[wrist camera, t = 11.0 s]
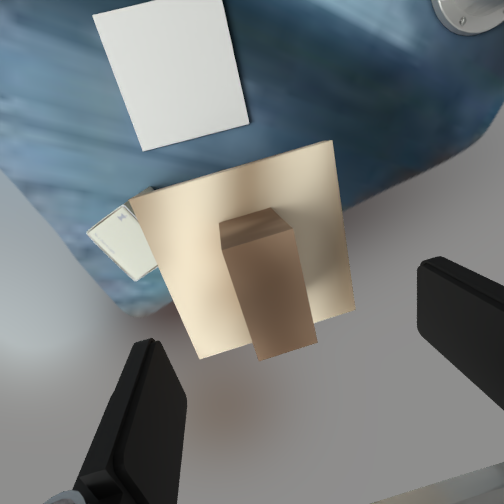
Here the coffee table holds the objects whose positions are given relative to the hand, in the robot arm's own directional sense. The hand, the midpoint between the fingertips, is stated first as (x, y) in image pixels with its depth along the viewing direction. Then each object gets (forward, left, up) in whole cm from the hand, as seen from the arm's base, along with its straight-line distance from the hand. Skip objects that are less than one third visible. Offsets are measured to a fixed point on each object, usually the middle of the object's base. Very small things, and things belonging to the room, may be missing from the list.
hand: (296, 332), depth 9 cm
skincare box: (+10, -1, -28) cm, 30 cm away
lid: (0, 0, -8) cm, 8 cm away
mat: (+2, -15, -28) cm, 32 cm away
